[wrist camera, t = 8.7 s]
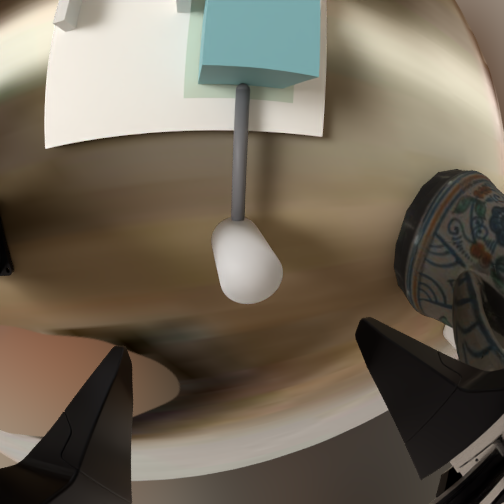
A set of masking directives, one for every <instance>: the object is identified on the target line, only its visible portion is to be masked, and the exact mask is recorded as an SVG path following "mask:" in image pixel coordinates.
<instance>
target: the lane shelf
mask: <svg viewBox="0 0 504 504" xmlns="http://www.w3.org/2000/svg"><path fill="white" fill-rule="evenodd" d="M204 6H205V0H59V3H58V6H57V10H56V14H55V18H54V22H53V24H54V25H55V27H54V32H53V37H52V43H51V49H50V55H49V62H48V71H47V81H46V94H45V149H47V148H51V147H56V146H60V145H65V144H70V143H76V142H81V141H87V140H93V139H100V138H107V137H114V136H123V135H132V134H142V133H154V132H169V131H193V130H234V117H235V96H236V87H237V86H238V85H231V84H198V76H199V60H200V47H201V35H202V25H203V15H204ZM326 61H327V0H320V68H319V77H318V78H314V79H311V80H307V81H304V82H301V83H298V84H295V85H292V86H289V87H286V88H283V89H280V88H272V87H261V86H249V85H248V86H249V87H250V103H249V123H248V131H263V132H279V133H291V134H302V135H311V136H320V137H322V135H323V121H324V106H325V87H326Z"/></svg>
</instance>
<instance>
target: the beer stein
mask: <svg viewBox="0 0 504 504" xmlns="http://www.w3.org/2000/svg"><path fill="white" fill-rule="evenodd" d="M394 269H395V273H396V278H397V282H398V286H399V287H400V288H401V289H402V290H403V292H404V294H405V295H406V297H407V299H408V301H409V302H410V304H411V305H412V306H413V308H414V309H415V310H416V311H418V312H419V313H420V314H422V315H424V316H427V317H431V318H434V319H436V320H438V321H440V322H443V323H444V324H446V325H447V326H449V327H451V328H453V334H454V341H455V345H456V350H457V354H458V357H459V361H461V362H463V363H466V364H468V365H471V366H473V367H476V368H478V369H481V370H484V371H495V370H500V369H504V194H503V193H502V192H500V191H499V190H498V189H497V188H496V186H495V185H494V184H493V183H492V182H491V181H490V179H488V178H487V177H486V176H485V175H483V174H481V173H479V172H477V171H473V170H472V171H462V170H458V169H455V170H449V171H443V172H438V173H437V174H436V175H435V176H434V177H433V178H431V179H430V180H429V181H428V182H427V183H426V184H425V185H423V186H422V188H421V189H420V191H419V193H418V194H417V196H416V197H415V199H414V201H413V202H412V204H411V205H410V207H409V208H408V210H407V211H406V215H405V218H404V221H403V224H402V228H401V231H400V234H399V237H398V240H397V243H396V249H395V261H394Z"/></svg>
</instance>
